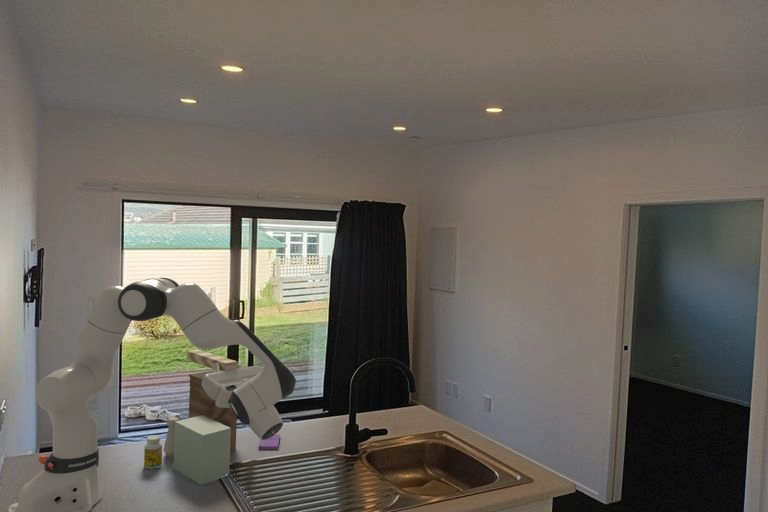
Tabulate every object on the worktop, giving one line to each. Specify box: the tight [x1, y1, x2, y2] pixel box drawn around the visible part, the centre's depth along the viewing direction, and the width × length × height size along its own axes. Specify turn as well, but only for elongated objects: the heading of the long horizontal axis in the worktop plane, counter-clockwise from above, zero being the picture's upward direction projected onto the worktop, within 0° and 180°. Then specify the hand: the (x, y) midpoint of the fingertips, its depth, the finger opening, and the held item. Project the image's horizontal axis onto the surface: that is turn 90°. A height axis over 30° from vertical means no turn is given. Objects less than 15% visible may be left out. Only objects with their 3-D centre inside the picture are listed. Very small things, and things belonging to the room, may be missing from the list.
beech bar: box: [186, 349, 238, 371], centre depth 177 cm, size 23×4×3 cm, turn 49°
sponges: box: [257, 433, 281, 451], centre depth 208 cm, size 7×13×2 cm, turn 7°
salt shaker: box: [163, 416, 181, 459], centre depth 192 cm, size 6×6×13 cm
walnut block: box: [188, 369, 238, 451], centre depth 201 cm, size 12×15×26 cm
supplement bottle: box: [143, 434, 163, 469], centre depth 183 cm, size 5×5×10 cm
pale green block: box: [172, 415, 231, 486], centre depth 180 cm, size 10×17×16 cm, turn 49°
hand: (223, 363), depth 172 cm, fingers closed on beech bar, 4 cm apart
